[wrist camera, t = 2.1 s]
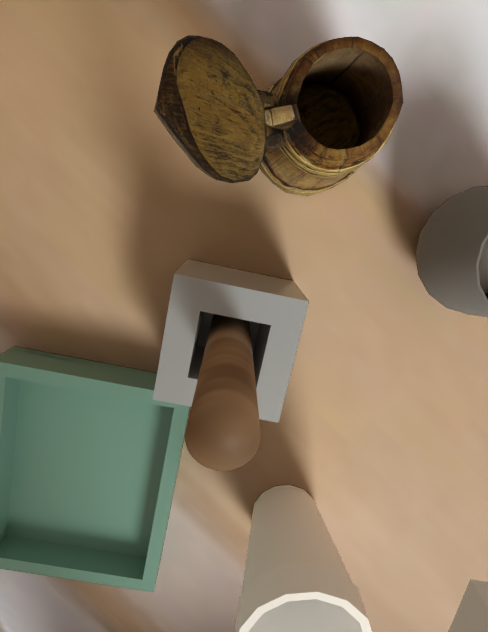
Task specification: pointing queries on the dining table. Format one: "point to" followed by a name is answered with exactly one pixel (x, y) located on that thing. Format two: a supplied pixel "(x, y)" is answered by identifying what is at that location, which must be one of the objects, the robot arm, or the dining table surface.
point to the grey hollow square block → (237, 302)
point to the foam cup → (295, 571)
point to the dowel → (225, 399)
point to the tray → (85, 469)
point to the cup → (457, 253)
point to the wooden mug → (281, 112)
